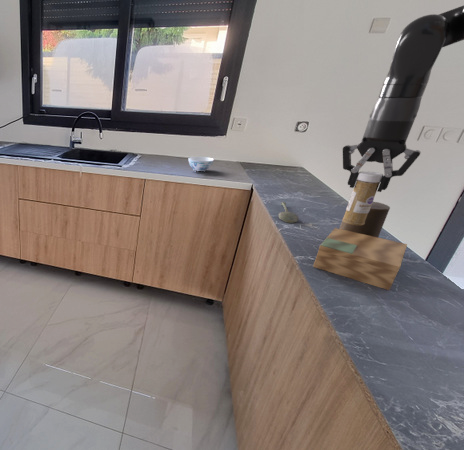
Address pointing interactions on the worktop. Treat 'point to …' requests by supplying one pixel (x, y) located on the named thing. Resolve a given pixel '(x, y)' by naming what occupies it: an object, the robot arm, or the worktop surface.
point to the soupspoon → (288, 215)
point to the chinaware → (200, 163)
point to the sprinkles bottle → (362, 197)
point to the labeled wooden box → (361, 257)
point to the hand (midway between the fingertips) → (365, 188)
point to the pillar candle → (370, 221)
